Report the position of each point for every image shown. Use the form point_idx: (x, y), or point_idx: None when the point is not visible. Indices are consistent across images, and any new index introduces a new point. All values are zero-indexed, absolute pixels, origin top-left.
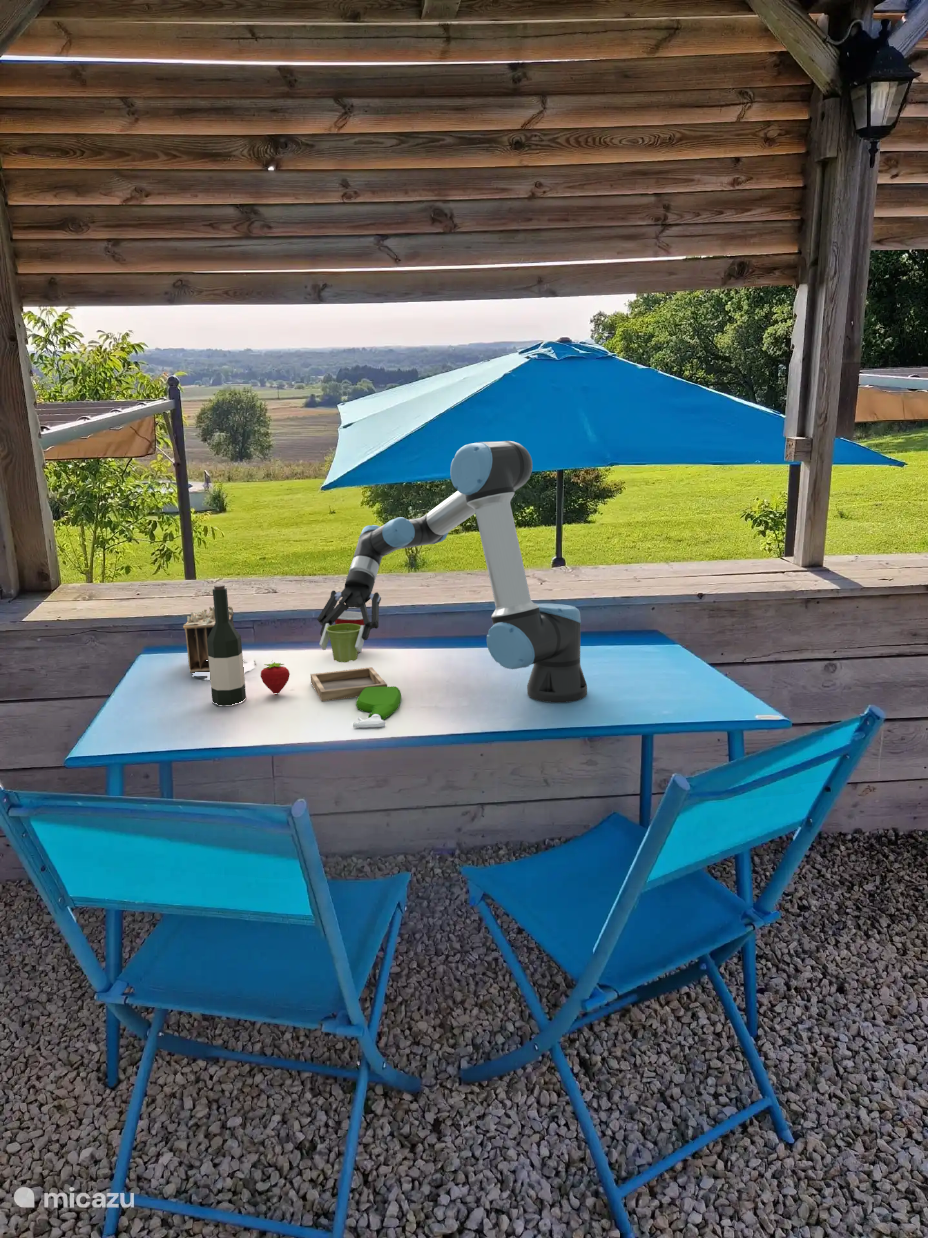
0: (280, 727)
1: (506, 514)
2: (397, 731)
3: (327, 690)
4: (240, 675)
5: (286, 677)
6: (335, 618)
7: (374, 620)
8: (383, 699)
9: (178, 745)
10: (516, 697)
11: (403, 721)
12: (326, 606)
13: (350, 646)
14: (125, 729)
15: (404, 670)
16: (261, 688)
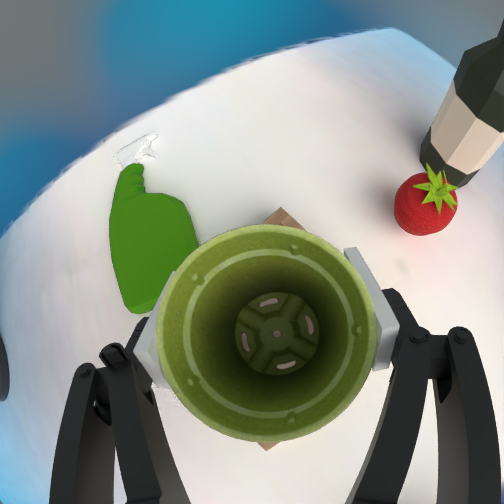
0: (268, 97)
1: None
2: (100, 157)
3: (272, 221)
4: (440, 126)
5: (394, 204)
6: (381, 417)
7: (79, 379)
8: (129, 223)
9: (342, 43)
10: (11, 344)
11: (98, 190)
12: (484, 428)
13: (220, 297)
14: (435, 66)
15: (214, 490)
16: (459, 249)
